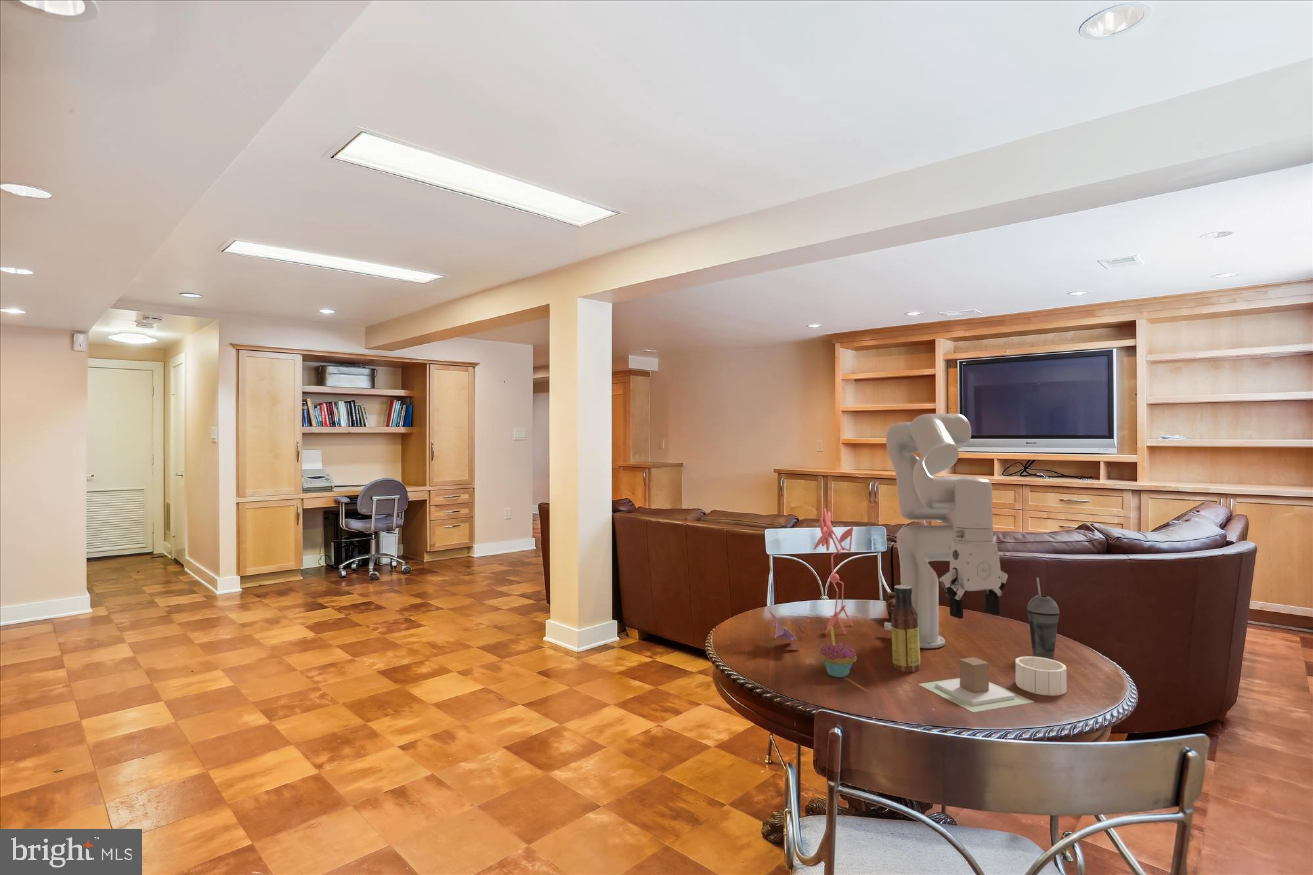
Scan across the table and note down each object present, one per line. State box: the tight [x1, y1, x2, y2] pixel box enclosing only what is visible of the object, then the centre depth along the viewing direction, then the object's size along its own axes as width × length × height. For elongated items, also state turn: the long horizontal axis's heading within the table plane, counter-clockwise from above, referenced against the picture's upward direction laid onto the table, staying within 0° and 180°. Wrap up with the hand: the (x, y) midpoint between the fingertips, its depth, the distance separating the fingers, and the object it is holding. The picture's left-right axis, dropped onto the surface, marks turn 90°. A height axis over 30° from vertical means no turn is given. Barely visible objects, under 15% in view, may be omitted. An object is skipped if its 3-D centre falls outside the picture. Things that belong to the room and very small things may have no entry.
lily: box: [766, 608, 799, 651], centre depth 174 cm, size 12×12×10 cm
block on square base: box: [935, 656, 1015, 706], centre depth 142 cm, size 11×11×7 cm
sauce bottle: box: [890, 584, 921, 673], centre depth 158 cm, size 6×6×20 cm
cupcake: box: [819, 624, 858, 678], centre depth 155 cm, size 9×8×12 cm
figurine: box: [807, 507, 858, 635], centre depth 194 cm, size 15×26×35 cm, turn 152°
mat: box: [918, 677, 1035, 713], centre depth 142 cm, size 16×16×1 cm
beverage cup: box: [1026, 577, 1061, 660], centre depth 166 cm, size 7×7×20 cm
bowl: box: [1015, 655, 1068, 697], centre depth 145 cm, size 10×10×6 cm
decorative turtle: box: [884, 591, 895, 621], centre depth 199 cm, size 10×15×8 cm, turn 27°
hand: (974, 615), depth 142 cm, fingers open, 9 cm apart
